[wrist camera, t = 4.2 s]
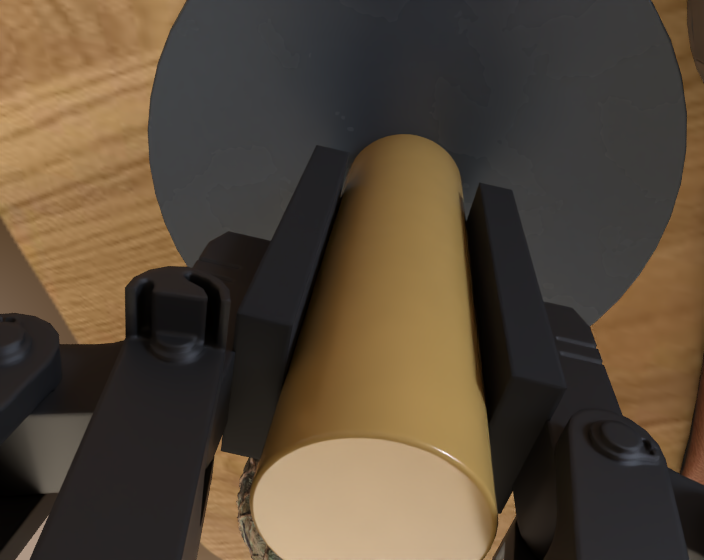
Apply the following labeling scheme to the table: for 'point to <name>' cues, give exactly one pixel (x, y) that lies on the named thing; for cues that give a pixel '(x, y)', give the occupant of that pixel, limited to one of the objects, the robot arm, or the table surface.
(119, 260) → the table surface
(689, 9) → the tin
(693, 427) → the sunglasses case
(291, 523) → the lid
